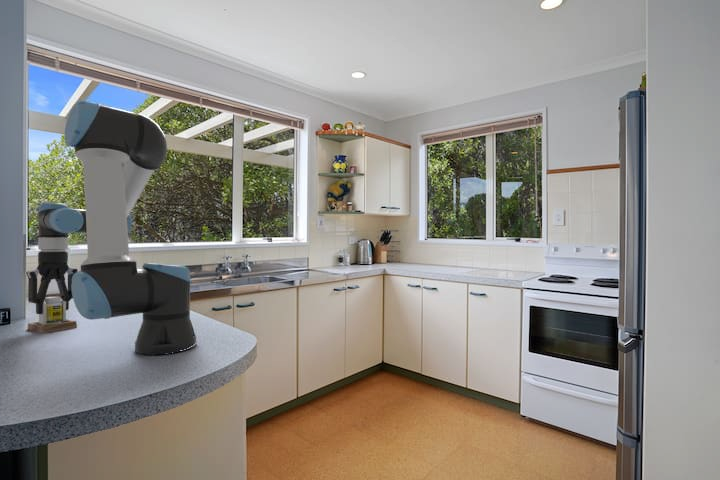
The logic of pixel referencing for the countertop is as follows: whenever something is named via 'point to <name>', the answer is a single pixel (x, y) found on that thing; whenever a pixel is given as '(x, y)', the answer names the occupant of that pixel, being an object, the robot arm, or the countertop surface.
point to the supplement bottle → (53, 310)
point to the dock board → (52, 326)
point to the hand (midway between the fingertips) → (52, 322)
